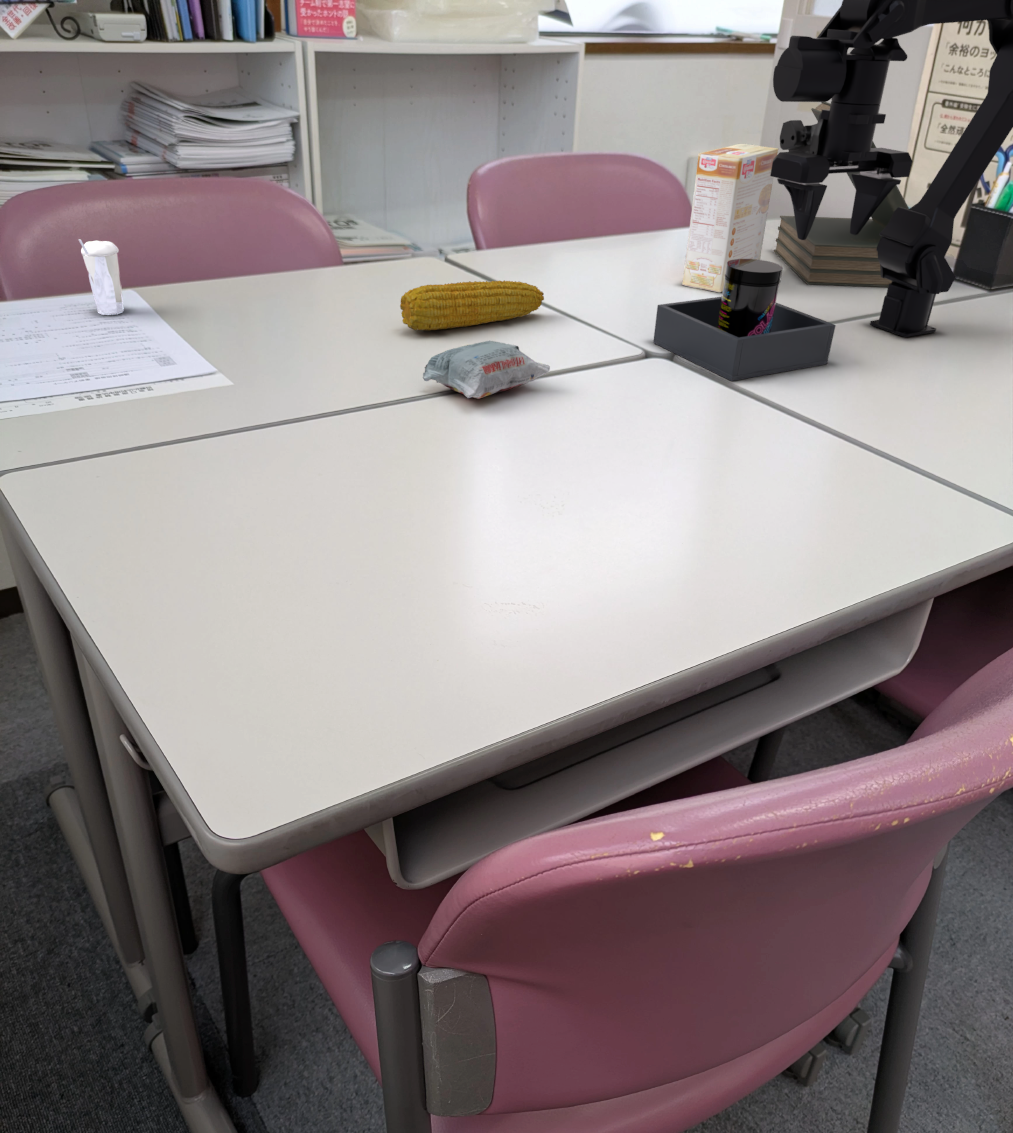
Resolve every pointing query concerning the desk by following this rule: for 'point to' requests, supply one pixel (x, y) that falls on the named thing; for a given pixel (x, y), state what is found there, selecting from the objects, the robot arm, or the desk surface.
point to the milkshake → (104, 275)
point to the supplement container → (749, 297)
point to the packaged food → (483, 368)
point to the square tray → (742, 340)
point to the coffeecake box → (727, 211)
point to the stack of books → (838, 243)
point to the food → (467, 304)
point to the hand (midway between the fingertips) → (828, 236)
